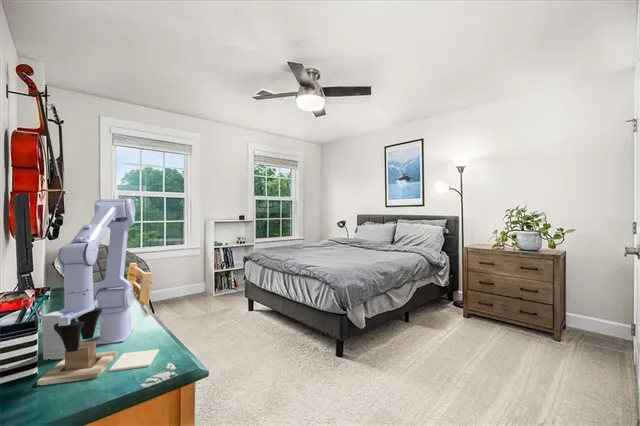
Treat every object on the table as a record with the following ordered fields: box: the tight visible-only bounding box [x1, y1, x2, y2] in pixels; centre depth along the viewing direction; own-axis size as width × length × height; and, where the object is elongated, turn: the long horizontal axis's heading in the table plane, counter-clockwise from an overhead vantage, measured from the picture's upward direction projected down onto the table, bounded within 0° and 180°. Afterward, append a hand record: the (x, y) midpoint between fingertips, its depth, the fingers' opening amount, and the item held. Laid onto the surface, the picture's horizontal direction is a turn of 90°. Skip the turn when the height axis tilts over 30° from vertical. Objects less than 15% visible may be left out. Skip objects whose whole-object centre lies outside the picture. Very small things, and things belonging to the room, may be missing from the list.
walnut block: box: [65, 340, 97, 371], centre depth 77 cm, size 4×5×6 cm
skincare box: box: [41, 310, 66, 361], centre depth 85 cm, size 6×4×12 cm
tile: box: [108, 348, 160, 373], centre depth 81 cm, size 9×9×1 cm
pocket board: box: [36, 350, 119, 386], centre depth 77 cm, size 12×12×1 cm
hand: (80, 344), depth 77 cm, fingers open, 7 cm apart
